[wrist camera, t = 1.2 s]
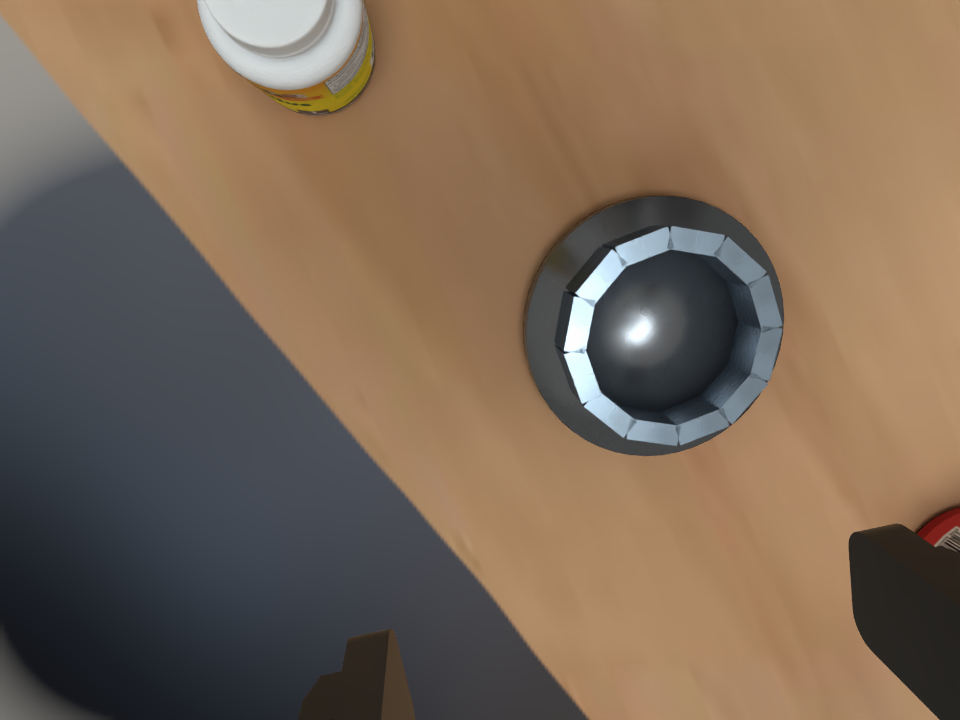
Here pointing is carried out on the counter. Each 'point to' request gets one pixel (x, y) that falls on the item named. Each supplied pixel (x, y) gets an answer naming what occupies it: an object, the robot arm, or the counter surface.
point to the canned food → (943, 530)
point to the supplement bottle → (295, 48)
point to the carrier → (653, 325)
